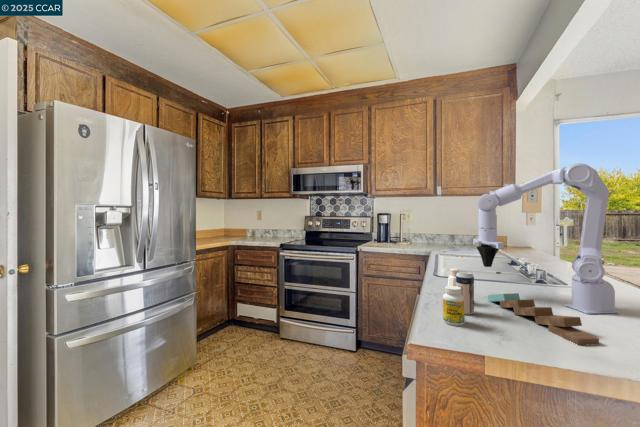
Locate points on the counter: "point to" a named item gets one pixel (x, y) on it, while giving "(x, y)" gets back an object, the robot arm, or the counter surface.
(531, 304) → the walnut domino
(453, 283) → the pepper shaker
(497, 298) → the teal domino
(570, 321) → the walnut domino
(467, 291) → the beer can
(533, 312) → the walnut domino
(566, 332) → the walnut domino
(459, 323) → the supplement bottle
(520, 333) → the counter surface
